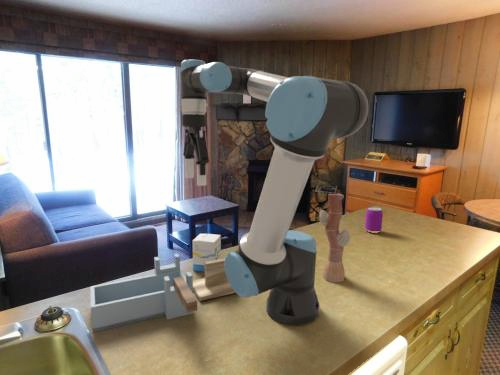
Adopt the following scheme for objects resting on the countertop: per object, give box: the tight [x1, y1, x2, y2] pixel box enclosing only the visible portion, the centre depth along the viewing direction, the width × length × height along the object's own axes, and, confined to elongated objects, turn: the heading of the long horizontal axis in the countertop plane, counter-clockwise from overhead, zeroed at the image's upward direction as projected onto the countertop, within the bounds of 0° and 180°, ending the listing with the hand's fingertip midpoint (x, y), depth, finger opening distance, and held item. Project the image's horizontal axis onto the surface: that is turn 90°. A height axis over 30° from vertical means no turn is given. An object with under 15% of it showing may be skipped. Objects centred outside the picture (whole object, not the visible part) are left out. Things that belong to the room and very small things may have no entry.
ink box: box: [192, 233, 222, 273], centre depth 122 cm, size 8×8×12 cm
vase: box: [318, 192, 351, 283], centre depth 113 cm, size 10×7×30 cm
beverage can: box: [364, 206, 384, 232], centre depth 163 cm, size 8×8×12 cm
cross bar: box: [173, 277, 198, 313], centre depth 85 cm, size 14×2×2 cm, turn 26°
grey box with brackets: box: [90, 253, 195, 333], centre depth 94 cm, size 17×26×12 cm, turn 116°
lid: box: [193, 257, 237, 302], centre depth 108 cm, size 11×25×10 cm, turn 116°
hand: (195, 181), depth 105 cm, fingers open, 13 cm apart
